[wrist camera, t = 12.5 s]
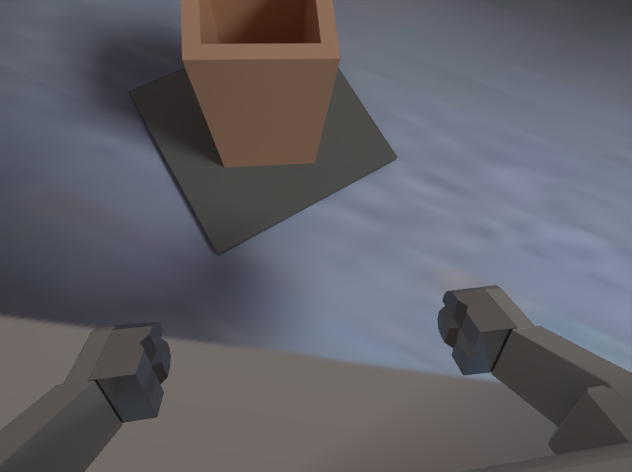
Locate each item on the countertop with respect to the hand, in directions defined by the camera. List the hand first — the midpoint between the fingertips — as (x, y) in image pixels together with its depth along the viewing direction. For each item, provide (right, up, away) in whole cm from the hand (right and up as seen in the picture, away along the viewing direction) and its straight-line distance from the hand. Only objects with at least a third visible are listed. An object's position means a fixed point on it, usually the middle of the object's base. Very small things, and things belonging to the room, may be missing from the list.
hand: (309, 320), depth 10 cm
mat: (-3, +9, +11) cm, 14 cm away
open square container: (-3, +9, +10) cm, 14 cm away
